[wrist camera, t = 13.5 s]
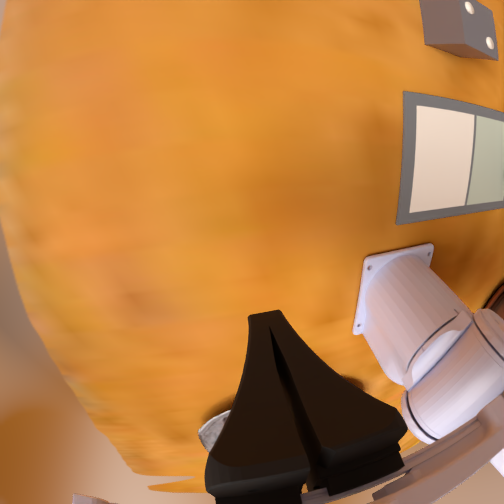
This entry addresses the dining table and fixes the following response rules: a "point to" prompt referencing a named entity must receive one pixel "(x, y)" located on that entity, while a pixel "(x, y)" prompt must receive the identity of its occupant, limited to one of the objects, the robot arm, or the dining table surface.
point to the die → (459, 28)
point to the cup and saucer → (497, 302)
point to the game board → (449, 159)
